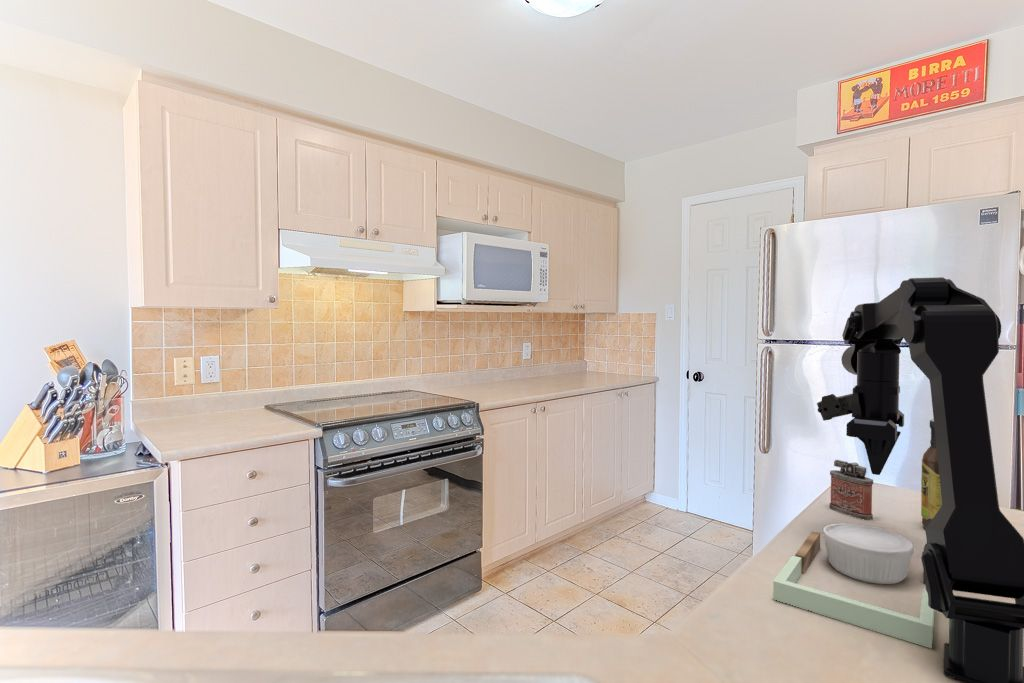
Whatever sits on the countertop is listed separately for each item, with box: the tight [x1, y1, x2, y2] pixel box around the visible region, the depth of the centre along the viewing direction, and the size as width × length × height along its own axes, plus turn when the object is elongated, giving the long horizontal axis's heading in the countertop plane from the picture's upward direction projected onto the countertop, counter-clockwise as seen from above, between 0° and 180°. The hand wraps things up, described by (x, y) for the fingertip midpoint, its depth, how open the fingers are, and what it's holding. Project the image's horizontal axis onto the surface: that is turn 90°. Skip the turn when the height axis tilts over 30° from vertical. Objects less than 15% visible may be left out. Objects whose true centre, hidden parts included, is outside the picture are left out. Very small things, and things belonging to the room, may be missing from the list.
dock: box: [772, 555, 936, 650], centre depth 68 cm, size 10×16×2 cm, turn 50°
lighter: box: [828, 459, 874, 521], centre depth 103 cm, size 8×3×10 cm, turn 22°
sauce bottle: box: [920, 418, 942, 529], centre depth 93 cm, size 6×6×20 cm
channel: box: [794, 531, 926, 585], centre depth 77 cm, size 12×16×3 cm
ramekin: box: [822, 523, 914, 585], centre depth 78 cm, size 11×11×5 cm
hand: (876, 474), depth 87 cm, fingers closed
